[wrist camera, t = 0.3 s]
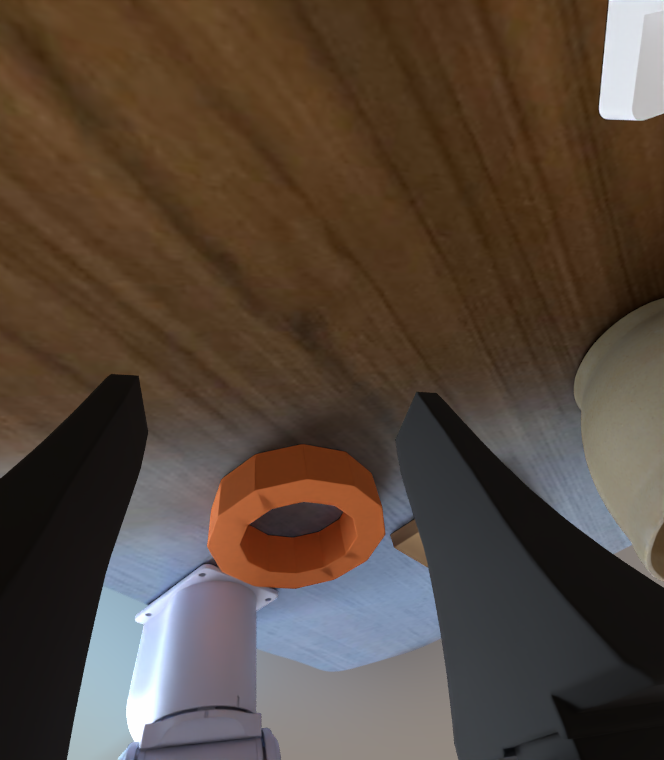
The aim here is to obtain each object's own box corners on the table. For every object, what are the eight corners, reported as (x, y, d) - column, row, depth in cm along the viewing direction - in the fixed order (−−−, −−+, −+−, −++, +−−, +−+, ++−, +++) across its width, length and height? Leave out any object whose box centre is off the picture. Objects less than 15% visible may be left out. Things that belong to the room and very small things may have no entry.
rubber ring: (199, 544, 30) (193, 583, 28) (237, 431, 24) (235, 467, 22) (339, 556, 34) (345, 591, 31) (400, 461, 28) (413, 494, 26)
